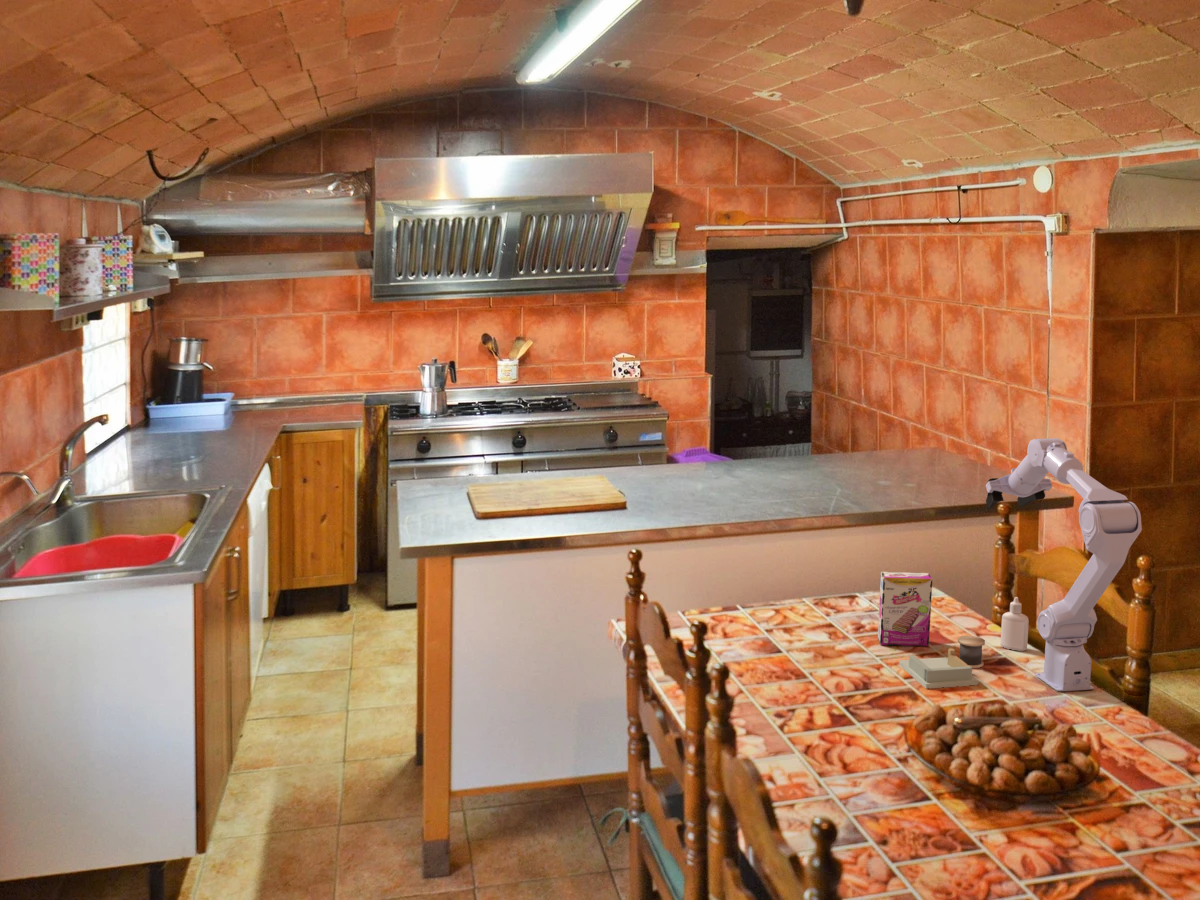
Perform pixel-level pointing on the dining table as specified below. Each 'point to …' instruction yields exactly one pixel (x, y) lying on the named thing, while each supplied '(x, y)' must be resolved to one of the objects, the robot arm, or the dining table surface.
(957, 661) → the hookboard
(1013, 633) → the eye dropper bottle
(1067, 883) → the dining table surface
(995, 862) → the dining table surface
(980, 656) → the spool
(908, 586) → the candy bar box
